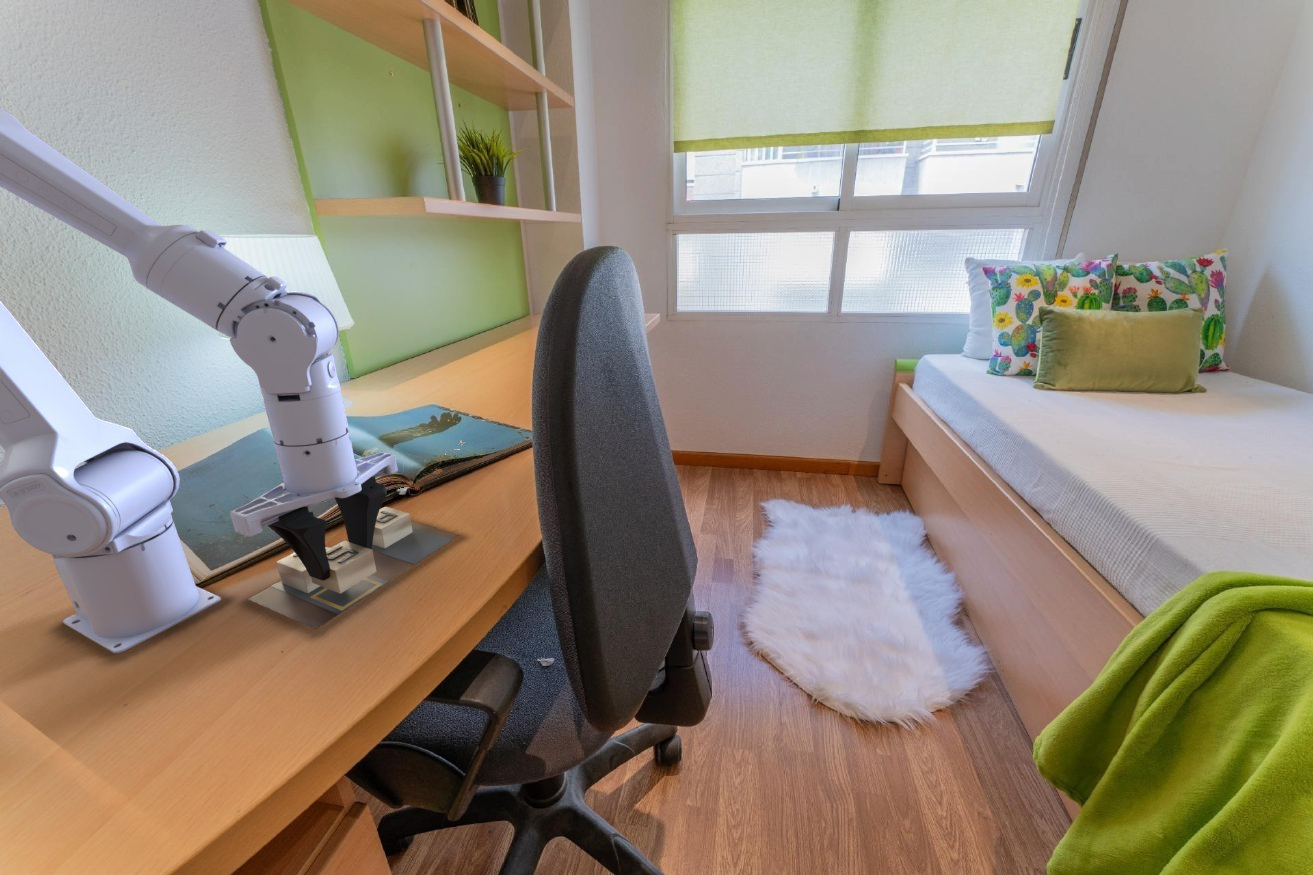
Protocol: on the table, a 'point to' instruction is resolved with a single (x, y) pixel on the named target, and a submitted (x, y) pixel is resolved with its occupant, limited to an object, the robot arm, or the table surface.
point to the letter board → (329, 603)
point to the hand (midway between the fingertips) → (341, 563)
